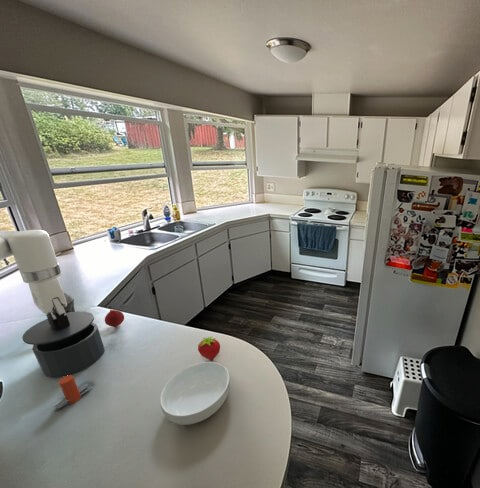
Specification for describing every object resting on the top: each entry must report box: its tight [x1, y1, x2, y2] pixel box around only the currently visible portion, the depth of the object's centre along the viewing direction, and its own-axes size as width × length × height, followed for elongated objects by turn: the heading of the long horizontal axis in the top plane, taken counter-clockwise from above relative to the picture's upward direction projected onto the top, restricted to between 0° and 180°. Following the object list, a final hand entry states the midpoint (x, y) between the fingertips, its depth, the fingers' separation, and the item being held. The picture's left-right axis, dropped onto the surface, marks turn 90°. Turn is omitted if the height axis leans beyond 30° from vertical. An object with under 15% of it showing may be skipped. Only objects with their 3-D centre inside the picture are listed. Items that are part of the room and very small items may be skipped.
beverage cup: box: [64, 292, 76, 313], centre depth 93 cm, size 7×7×20 cm
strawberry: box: [197, 335, 221, 361], centre depth 83 cm, size 6×8×10 cm
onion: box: [104, 308, 125, 328], centre depth 98 cm, size 6×6×8 cm
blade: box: [53, 374, 93, 411], centre depth 69 cm, size 8×3×8 cm, turn 151°
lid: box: [21, 310, 95, 346], centre depth 77 cm, size 16×16×6 cm
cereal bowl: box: [159, 361, 231, 426], centre depth 69 cm, size 17×17×7 cm
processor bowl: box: [31, 322, 105, 379], centre depth 81 cm, size 15×15×10 cm
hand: (60, 325), depth 78 cm, fingers closed on lid, 3 cm apart
